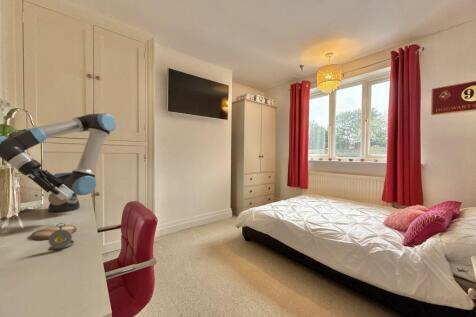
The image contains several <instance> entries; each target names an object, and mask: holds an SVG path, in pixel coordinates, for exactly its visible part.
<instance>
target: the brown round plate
mask: <svg viewBox="0 0 476 317" xmlns="http://www.w3.org/2000/svg"><path fill="white" fill-rule="evenodd" d="M61 225H62V226H64V224H61ZM61 225H57V226H58V227H57V226H56V225H55V226H54V225H53V226H50V227H45V228H42V229H41V228H40V229H38V230H36V231H34V232H32V233H31V234H30V239H31V240H33V241H49V237H50V235H51V234H52V233H53V232H55V231H57V230H60V228H59V227H60V226H61ZM77 228H78V227H77V226H75V225H73V224H72V225H71V224H70V225H68V224H67V225H66V224H65V226H64V227H63V228H62V229H65V230H68V231H70V232H71V234H72V235H73V234H74V233H75V232H76V231H77ZM56 237H57V236H56ZM55 239H57V238H55Z"/></svg>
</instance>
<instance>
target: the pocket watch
mask: <svg viewBox="0 0 476 317" xmlns="http://www.w3.org/2000/svg"><path fill="white" fill-rule="evenodd" d="M62 225H64V226H65V225H66V224H65V223H62V222H60V223H58V224H56V225H55V226H57V227H58V226H60V227H59V228H60V230H57V231H55V232H53V233H52V234H51V235H50V237H49V240H48V244H49V246H51V249H54V250H59V249H65V248H68V247H71V246H72V245H74V243H75V240H73V233H72V234H71V232H70V231H68V230H65V229H62V228H63V227H64V226H62ZM56 236H57V237H56ZM55 238H56V239H55Z"/></svg>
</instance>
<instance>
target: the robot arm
mask: <svg viewBox="0 0 476 317" xmlns="http://www.w3.org/2000/svg"><path fill="white" fill-rule="evenodd" d="M116 127H117V121H116V119H115V118H114V116H113V115H111V114H109V113H107V112H101V113H88V114H85V115H81V116H78V117H73V118H71V119H70V120H66V121H60V122H55V123H50V124H45V125H44V124H43V125H39V126H33V127H30V128H25V129H19V130H14V131H15V132H12V133H10V134H9V137H8V138H7V137H5V136H1V135H0V159H1V160H3V161H5V162H6V163H7V164H9V165H10V167H11V168H14V169H16V170H18V172H19V173H21V174H22V175H23V176H27V178H29V179H31V181H33V182H34V183H35V184H36V185H38V186H39V187H40V188H41V189H43V190H44V191H45V192H46V193H49V192H50V193H53V194H54V195H56V196H57V197H58V198H60V199H61V200H63V199H65V198H66V197H67V195H66V194H65V193H63V192H62V191H61V190H59V188H63V187H64V188H68V189H70V190H71V192H72V197H75V198H76V199H77V202H76V203H74V204H72V203H67V202H65V203H64V204H61V205H53V204H51V203H50V202H49V204H48V208H47V211H48V212H49V213H64V212H71V210H72V211H75V209H76V210H78V209H80V208H79V207H80V206H81V204H80V201H79V199H78V197H77V196H87V195H90V194H91V193H92V192H94V190H95V189H96V187H97V181H96V178H95V177H96V173H95V168H96V166H97V163H98V160H99V157H100V154H101V152H102V148H103V145H104V143H105V139H106V138H107V137H109V136H110V133H111V132H113V131H115V129H116ZM16 131H17V132H16ZM83 132H89V135H88V137H87V140H86V143H85V145H84V148H83V150H82V154H81V157H80V159H79V162H78V163H77V167H76V168H75V169H74V170H73V169H72V172H60V173H59V172H58V173H54V174H52V173H51V172H49V171H48V170H47V169H45V170H44V169H41V166H42V164H41V163H40V162H39V161H38V160H37V159H34V158H33V156H31V155H30V154H28V153H27V152H26V150H29V149H32V148H33V147H35V146H37V145H40V144H42V143H43V142H45V141H46V140H47V139H51V138H56V137H61V136H64V135H68V134H72V133H83ZM70 200H71V199H70ZM72 201H74V200H72ZM77 208H78V209H77Z"/></svg>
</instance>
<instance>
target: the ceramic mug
mask: <svg viewBox="0 0 476 317" xmlns="http://www.w3.org/2000/svg"><path fill="white" fill-rule="evenodd" d="M59 190H61V191H62V192H63V193H65V194H66V195H67V197H66V198H65V199H63V200H61V199H60V198H58V197H57V196H56V195H54V194H53V193H52V192H50V194H49V195H48V198H47V199H48V203H49V204H50V203H51V204H53V205H61V204H64V203H65V202H67V203H72V204H74V203H76V202H77V199H76V198H75V197H72V192H71V190H70V189H68V188H64V187H63V188H59ZM70 199H71V200H70ZM72 200H74V201H72Z"/></svg>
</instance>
